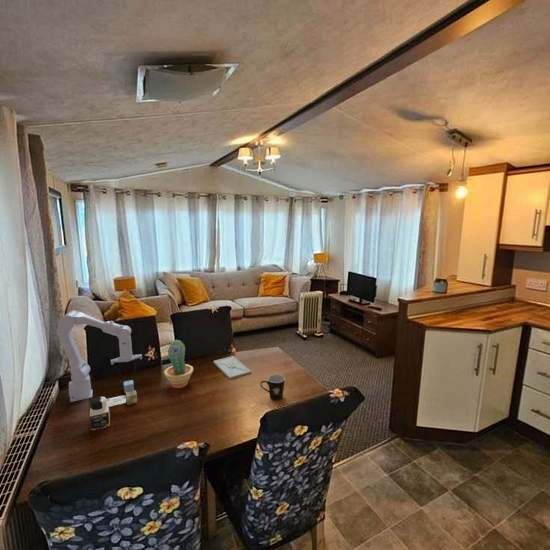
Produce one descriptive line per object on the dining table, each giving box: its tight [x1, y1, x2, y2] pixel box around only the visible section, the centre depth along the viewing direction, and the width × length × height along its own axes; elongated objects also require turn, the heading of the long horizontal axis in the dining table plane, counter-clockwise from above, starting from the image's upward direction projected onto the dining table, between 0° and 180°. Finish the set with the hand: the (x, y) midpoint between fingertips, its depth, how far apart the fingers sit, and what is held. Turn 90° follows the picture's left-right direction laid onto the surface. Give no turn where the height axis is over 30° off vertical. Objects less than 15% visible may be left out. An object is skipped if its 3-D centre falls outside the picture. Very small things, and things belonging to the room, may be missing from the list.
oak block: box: [125, 389, 138, 406], centre depth 158 cm, size 4×4×4 cm
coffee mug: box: [260, 374, 286, 401], centre depth 163 cm, size 12×9×10 cm
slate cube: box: [123, 379, 135, 394], centre depth 169 cm, size 4×4×4 cm
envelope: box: [213, 355, 252, 380], centre depth 195 cm, size 24×2×14 cm
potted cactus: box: [163, 339, 194, 389], centre depth 174 cm, size 15×15×25 cm
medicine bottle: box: [89, 396, 111, 431], centre depth 140 cm, size 7×7×12 cm
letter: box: [106, 394, 127, 408], centre depth 159 cm, size 11×8×1 cm
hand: (127, 374), depth 167 cm, fingers open, 7 cm apart
